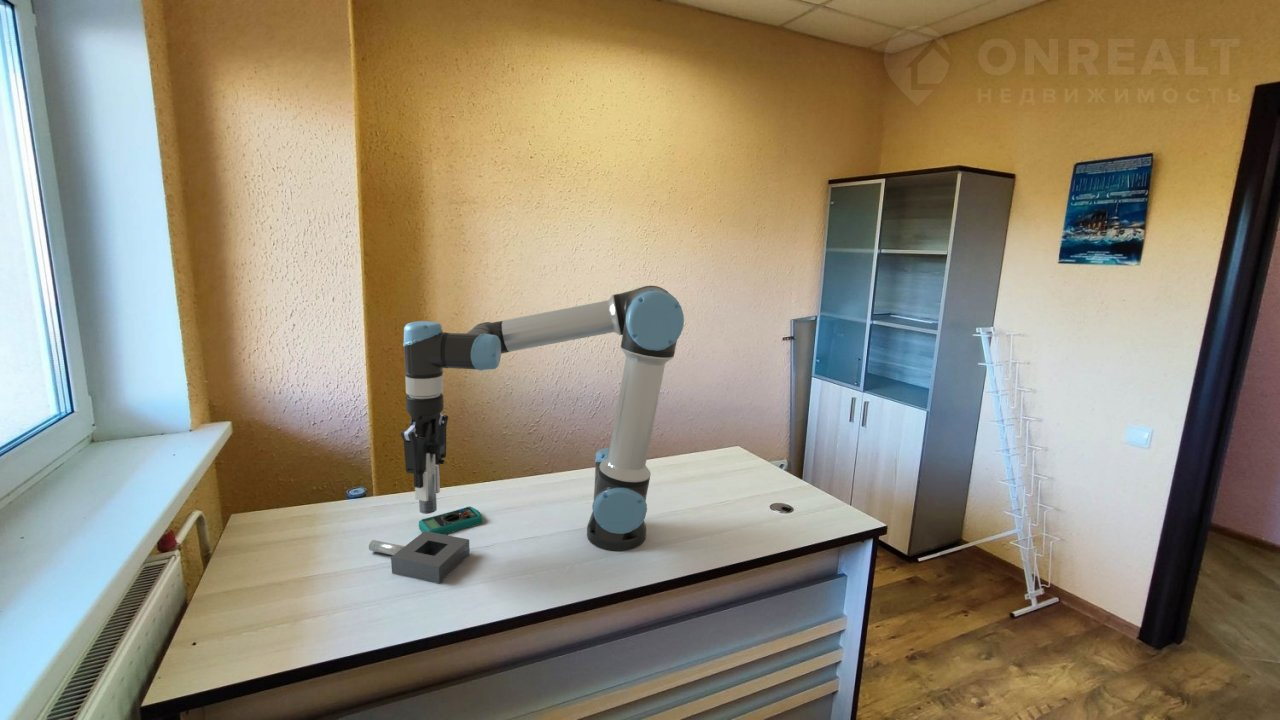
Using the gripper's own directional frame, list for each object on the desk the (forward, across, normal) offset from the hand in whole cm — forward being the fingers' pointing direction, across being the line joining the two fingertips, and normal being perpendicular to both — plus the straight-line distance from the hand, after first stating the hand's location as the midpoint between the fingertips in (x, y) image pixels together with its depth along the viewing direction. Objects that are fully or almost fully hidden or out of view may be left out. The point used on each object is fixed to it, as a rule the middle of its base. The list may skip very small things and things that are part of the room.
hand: (427, 495), depth 127 cm
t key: (+3, 0, 0) cm, 3 cm away
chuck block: (+17, 0, -5) cm, 18 cm away
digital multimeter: (+18, -17, -6) cm, 25 cm away
